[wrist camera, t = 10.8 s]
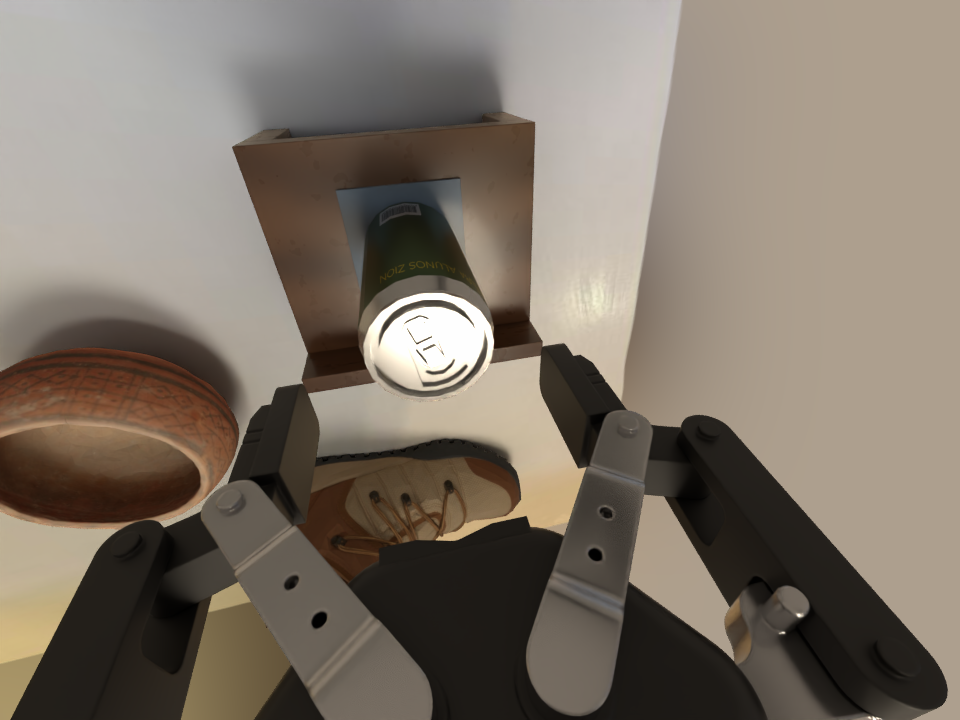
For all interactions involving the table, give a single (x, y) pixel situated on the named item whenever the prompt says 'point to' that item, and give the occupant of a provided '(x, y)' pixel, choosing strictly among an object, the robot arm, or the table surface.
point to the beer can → (421, 307)
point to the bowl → (108, 439)
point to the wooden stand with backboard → (370, 189)
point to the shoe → (402, 499)
